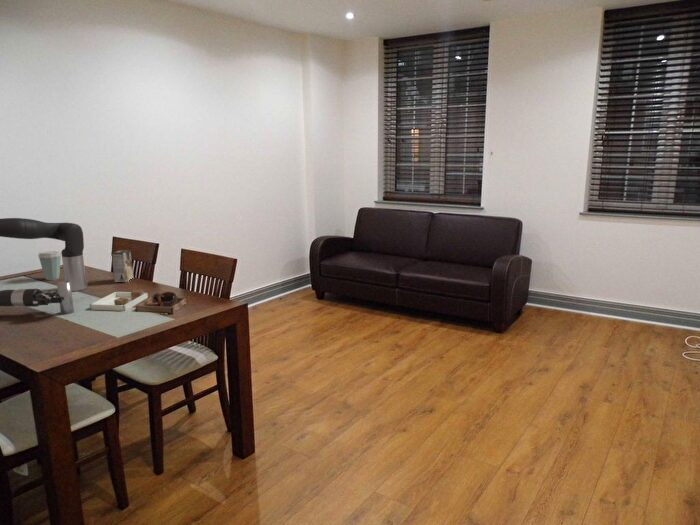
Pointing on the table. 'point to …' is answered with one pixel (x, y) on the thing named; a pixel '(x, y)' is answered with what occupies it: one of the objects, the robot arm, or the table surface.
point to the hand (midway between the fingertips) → (66, 297)
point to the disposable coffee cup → (50, 264)
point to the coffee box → (122, 265)
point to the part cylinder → (65, 297)
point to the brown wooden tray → (144, 307)
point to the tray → (108, 301)
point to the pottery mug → (166, 299)
